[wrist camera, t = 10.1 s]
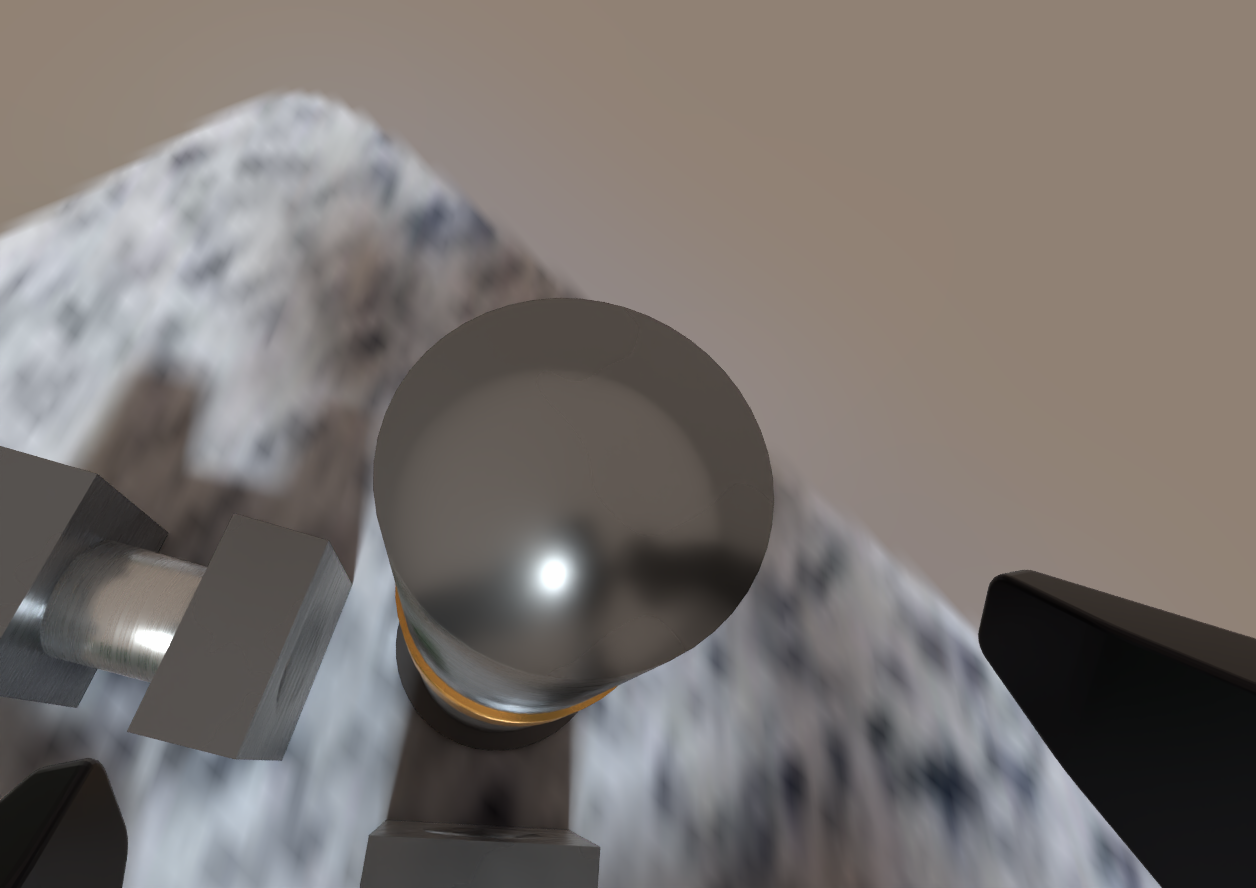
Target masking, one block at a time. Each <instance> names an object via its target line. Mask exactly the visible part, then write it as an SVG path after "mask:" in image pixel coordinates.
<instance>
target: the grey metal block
mask: <svg viewBox="0 0 1256 888" xmlns="http://www.w3.org/2000/svg"><path fill="white" fill-rule="evenodd" d="M599 858H600V847H599V846H598V845H596V844H594V843H592V842H590V841H588V840H586V839H585V838H583V837H581V836H579V835H577V834H575V833H573V832H572V831H570V830H562V829H544V828H526V827H507V826H489V825H470V824H452V823H433V822H415V821H396V820H386V821H385V822H383V823H382V824H381V825H380V826H379V827H378V828H377V829H376V830H374V831H373V832H372V833H371V834H370V835H369V838H368V844H367V850H366V855H365V861H364V867H363V872H362V878H361V884H360V888H598V873H599Z"/></svg>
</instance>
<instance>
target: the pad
mask: <svg viewBox="0 0 1256 888" xmlns="http://www.w3.org/2000/svg"><path fill="white" fill-rule="evenodd" d="M396 659H397V665H398V672H399V675H400V678H401V682H402V685H403V687H404V689H405V692H406V694H407V696H408V698H409V700H410V701H411V703H412V704H413V706H414V707H415V709H416V711H417V712H418V713H419V714H420V715H421V716H422V718H423V719H424V720H425V721H426V722H427V723H428V724H429V725H431V726H432V727H433V728H434V729H435V730H436V731H438V732H439V733H441V734H442V735H444V736H446V737H447V738H449V739H451V740H453V741H455V742H458V743H460V744H463V745H466V746H469V747H473V748H478V749H485V750H506V749H514V748H519V747H522V746H526V745H530V744H533V743H535V742H537V741H539V740H542V739H544V738H546V737H548V736H549V735H551V734H553V733H554V732H556V731H557V730H559V729H560V728H561V727H562V726H564V725H565V724H566V723H567V722H568V721H569V720H570V719H571V718H572V717H573V716H574V715H575V714H576V713H577V712H578V711H577V712H575V713H572V714H570V715H567V716H565V717H562V718H560V719H557V720H555V721H552V722H548V723H544V724H540V725H533V726H531V727H528V728H526V729H522V730H518V731H514V732H505V733H491V732H485V731H479V730H476V729H473V728H470V727H467V726H465V725H463V724H461V723H459V722H457V721H456V720H454V719H453V718H451V717H450V716H448V715H447V714H446V713H445V712H444V711H443V710H442V709H441V708H440V707H439V706H438V705H437V704H436V702H435V701H434V700H433V699H432V697H431V696H430V694H429V692H428V691H427V689H426V687H425V684H424V682H423V680H422V677H421V674H420V673H419V671H418V669H417V668H416V666H415V664H414V662H413V660H412V658H411V655H410V653H409V651H408V648H407V645H406V642H405V639H404V636H403V632H402V629H401V625H400V622H399V626H398V630H397V639H396Z"/></svg>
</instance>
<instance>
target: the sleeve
mask: <svg viewBox="0 0 1256 888" xmlns="http://www.w3.org/2000/svg"><path fill="white" fill-rule="evenodd" d="M373 491H374V498H375V506H376V514H377V518H378V522H379V525H380V529H381V533H382V536H383V540H384V544H385V547H386V551H387V554H388V558H389V562H390V565H391V569H392V572H393V576H394V580H395V583H396V596H395V598H396V605H397V613H398V618H399V622H400V625H401V629H402V632H403V636H404V639H405V642H406V645H407V648H408V651H409V653H410V655H411V658H412V660H413V662H414V664H415V666H416V668H417V669H418V671H419V673H420V674H421V677H422V680H423V682H424V684H425V687H426V689H427V691H428V692H429V694H430V696H431V697H432V699H433V700H434V701H435V702H436V704H437V705H438V706H439V707H440V708H441V709H442V710H443V711H444V712H445V713H446V714H447V715H448V716H450V717H451V718H453V719H454V720H456V721H457V722H459V723H461V724H463V725H465V726H467V727H470V728H473V729H476V730H479V731H485V732H491V733H505V732H514V731H518V730H522V729H526V728H528V727H531V726H533V725H540V724H544V723H548V722H552V721H555V720H557V719H560V718H562V717H565V716H567V715H570V714H572V713H575V712H577V711H579V710H582V709H584V708H586V707H588V706H590V705H591V704H593V703H595V702H597V701H598V700H600V699H602V698H603V697H604V696H606V695H607V694H608V693H610V692H611V691H612V690H614V689H615V688H616V687H617V686H618V685H620V684H622V683H624V682H626V681H628V680H631V679H633V678H635V677H637V676H639V675H641V674H643V673H645V672H647V671H649V670H652V669H654V668H656V667H658V666H660V665H662V664H664V663H666V662H668V661H670V660H672V659H674V658H676V657H678V656H679V655H681V654H683V653H685V652H686V651H688V650H690V649H692V648H694V647H695V646H696V645H698V644H699V643H700V642H701V641H703V640H704V639H705V638H707V637H708V636H709V635H710V634H712V633H713V632H714V631H715V630H716V629H717V628H718V627H719V626H720V625H721V624H722V623H723V622H724V621H725V620H726V619H727V618H728V617H729V616H730V615H731V614H732V613H733V612H734V610H735V609H736V607H737V606H738V605H739V603H740V602H741V601H742V599H743V598H744V596H745V595H746V594H747V592H748V590H749V588H750V587H751V585H752V583H753V581H754V579H755V577H756V575H757V573H758V571H759V569H760V566H761V563H762V561H763V558H764V555H765V552H766V550H767V546H768V542H769V537H770V532H771V527H772V520H773V506H774V493H773V477H772V471H771V466H770V461H769V455H768V451H767V448H766V445H765V442H764V439H763V436H762V433H761V430H760V428H759V426H758V424H757V421H756V419H755V417H754V415H753V413H752V411H751V409H750V407H749V406H748V404H747V402H746V401H745V399H744V397H743V396H742V394H741V392H740V391H739V389H738V388H737V387H736V385H735V384H734V383H733V382H732V380H731V379H730V378H729V377H728V375H727V374H726V373H725V371H724V370H723V369H722V368H721V367H720V366H719V365H718V364H717V363H716V362H715V361H714V360H713V359H712V358H711V357H710V356H709V355H708V354H707V353H706V352H704V351H703V350H702V349H701V348H699V347H698V346H697V345H696V344H694V343H693V342H692V341H691V340H689V339H688V338H686V337H685V336H683V335H682V334H680V333H679V332H677V331H676V330H674V329H672V328H671V327H669V326H667V325H665V324H663V323H661V322H659V321H657V320H655V319H653V318H651V317H649V316H647V315H644V314H642V313H639V312H636V311H633V310H631V309H628V308H625V307H621V306H617V305H613V304H609V303H605V302H599V301H592V300H585V299H568V298H553V299H541V300H532V301H527V302H522V303H517V304H512V305H508V306H505V307H502V308H499V309H496V310H493V311H490V312H487V313H485V314H483V315H481V316H479V317H477V318H475V319H473V320H470V321H468V322H466V323H464V324H463V325H461V326H460V327H458V328H457V329H455V330H454V331H452V332H451V333H449V334H447V335H446V336H445V337H443V338H442V339H441V340H440V341H439V342H437V343H436V344H435V345H434V346H433V347H432V348H430V349H429V350H428V351H427V352H426V353H425V354H424V355H423V356H422V357H421V359H420V360H419V361H418V362H417V363H416V364H415V365H414V366H413V367H412V369H411V370H410V371H409V373H408V374H407V376H406V377H405V378H404V380H403V381H402V383H401V384H400V386H399V387H398V389H397V390H396V392H395V394H394V397H393V399H392V401H391V403H390V405H389V407H388V409H387V411H386V413H385V416H384V419H383V423H382V426H381V429H380V432H379V435H378V439H377V446H376V452H375V458H374V476H373Z"/></svg>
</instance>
